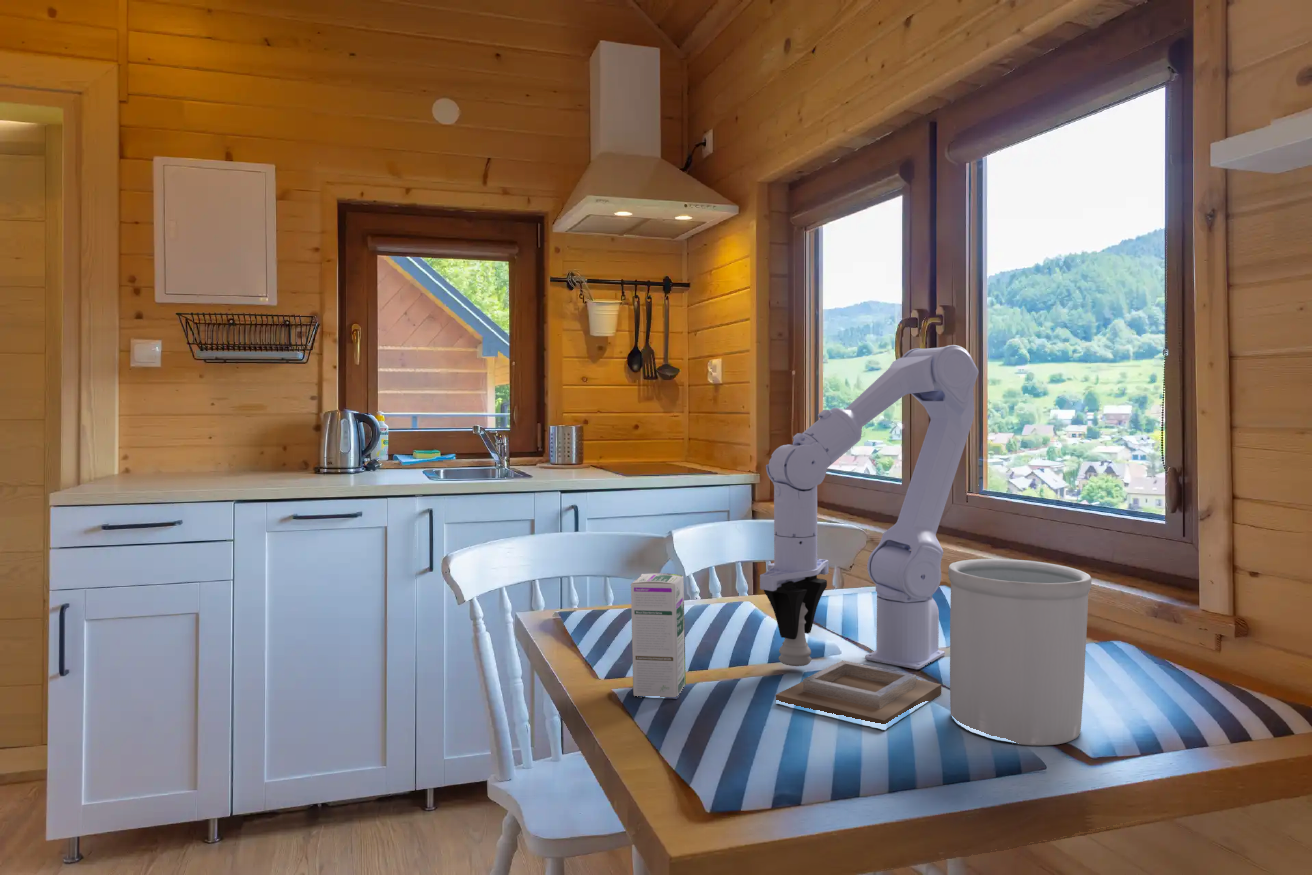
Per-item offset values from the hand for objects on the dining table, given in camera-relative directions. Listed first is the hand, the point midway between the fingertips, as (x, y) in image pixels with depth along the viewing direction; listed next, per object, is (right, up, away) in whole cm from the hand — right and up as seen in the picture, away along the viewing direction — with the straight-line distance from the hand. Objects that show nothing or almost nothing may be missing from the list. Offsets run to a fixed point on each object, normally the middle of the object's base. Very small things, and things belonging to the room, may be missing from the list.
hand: (795, 634), depth 122 cm
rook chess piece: (0, -4, 0) cm, 4 cm away
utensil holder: (+22, -6, -20) cm, 30 cm away
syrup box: (-18, -6, -8) cm, 21 cm away
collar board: (+6, -5, -11) cm, 14 cm away
